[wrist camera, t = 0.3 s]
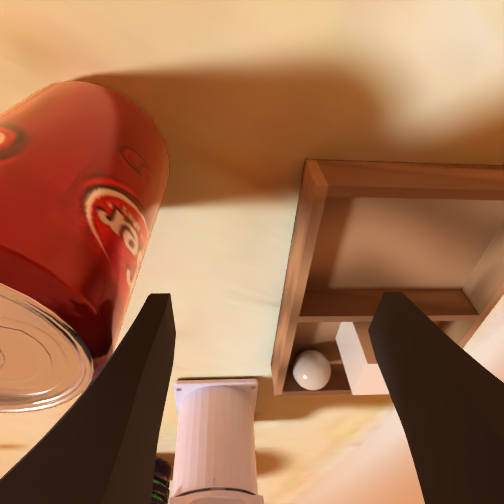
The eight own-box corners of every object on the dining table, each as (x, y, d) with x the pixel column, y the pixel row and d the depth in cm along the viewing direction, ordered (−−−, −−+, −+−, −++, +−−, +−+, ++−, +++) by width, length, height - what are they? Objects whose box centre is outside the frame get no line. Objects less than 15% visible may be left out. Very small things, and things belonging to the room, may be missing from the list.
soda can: (193, 127, 17) (143, 317, 8) (145, 229, 21) (73, 434, 12) (36, 42, 14) (-307, 178, 5) (14, 176, 18) (-204, 386, 9)
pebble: (322, 363, 31) (330, 397, 28) (287, 364, 31) (293, 398, 28) (329, 341, 29) (339, 376, 26) (292, 342, 29) (298, 377, 26)
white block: (381, 337, 29) (405, 393, 25) (335, 338, 29) (352, 395, 25) (396, 305, 26) (426, 362, 22) (346, 306, 26) (367, 363, 22)
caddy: (415, 361, 33) (430, 391, 30) (270, 364, 31) (274, 395, 29) (539, 166, 20) (580, 192, 18) (305, 159, 19) (316, 185, 16)
